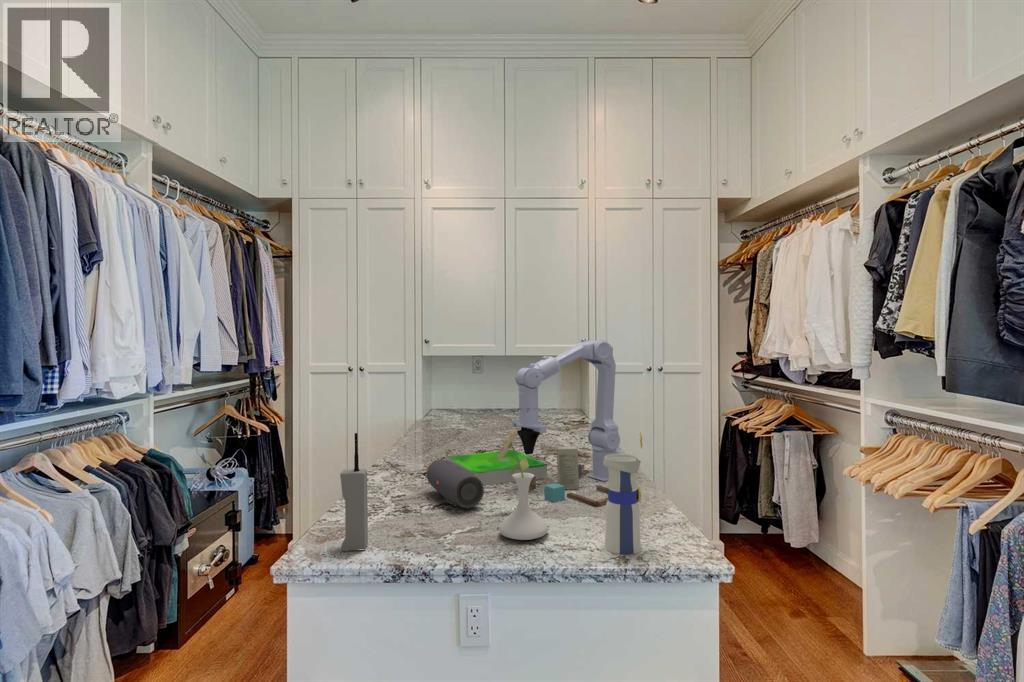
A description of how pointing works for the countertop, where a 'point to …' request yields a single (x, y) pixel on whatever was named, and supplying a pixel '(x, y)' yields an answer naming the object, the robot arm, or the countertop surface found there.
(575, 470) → the skincare box
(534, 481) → the walnut block
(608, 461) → the water bottle
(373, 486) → the countertop surface
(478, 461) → the tray
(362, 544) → the vintage mobile phone
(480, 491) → the bluetooth speaker
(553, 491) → the teal block
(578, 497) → the frame
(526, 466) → the flower in vase
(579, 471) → the charcoal block
